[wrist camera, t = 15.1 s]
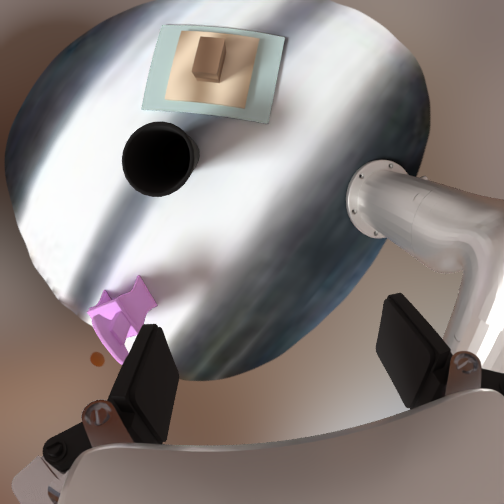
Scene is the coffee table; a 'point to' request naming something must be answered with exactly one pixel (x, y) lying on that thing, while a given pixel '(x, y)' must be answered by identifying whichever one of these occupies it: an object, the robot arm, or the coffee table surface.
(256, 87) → the mat
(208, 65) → the lid
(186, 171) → the cup
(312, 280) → the coffee table surface
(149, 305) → the toy chair
